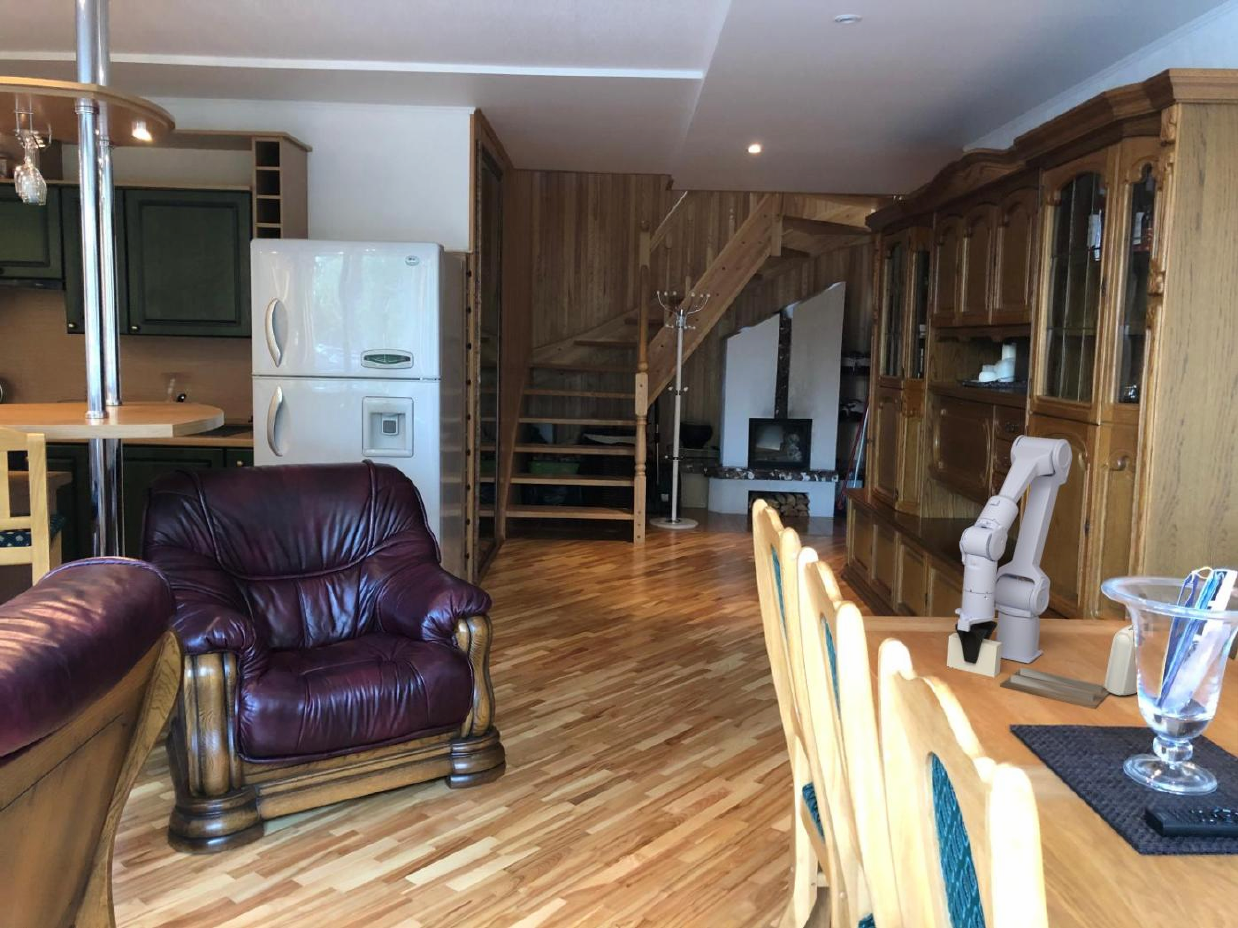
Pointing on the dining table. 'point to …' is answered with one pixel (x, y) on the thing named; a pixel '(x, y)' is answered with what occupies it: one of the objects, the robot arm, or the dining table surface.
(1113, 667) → the cream rounded upright block
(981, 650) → the cream rectangular block
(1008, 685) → the track board
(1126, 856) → the dining table surface
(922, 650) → the dining table surface
